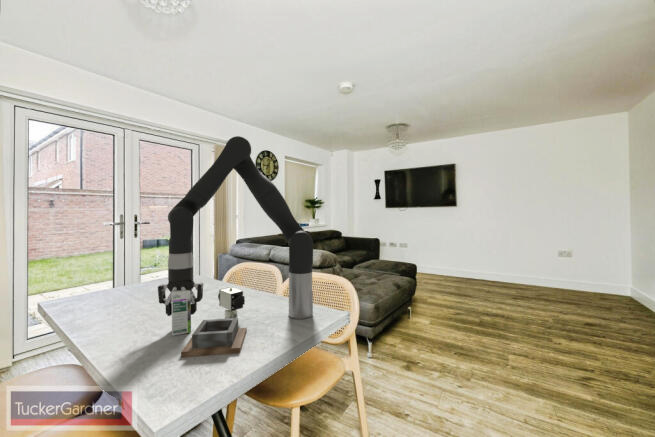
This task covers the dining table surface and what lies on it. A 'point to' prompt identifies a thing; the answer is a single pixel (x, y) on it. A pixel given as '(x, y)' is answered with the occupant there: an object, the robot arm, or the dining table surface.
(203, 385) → the dining table surface
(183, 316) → the syrup box
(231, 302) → the pneumatic valve
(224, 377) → the dining table surface
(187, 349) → the dock socket
